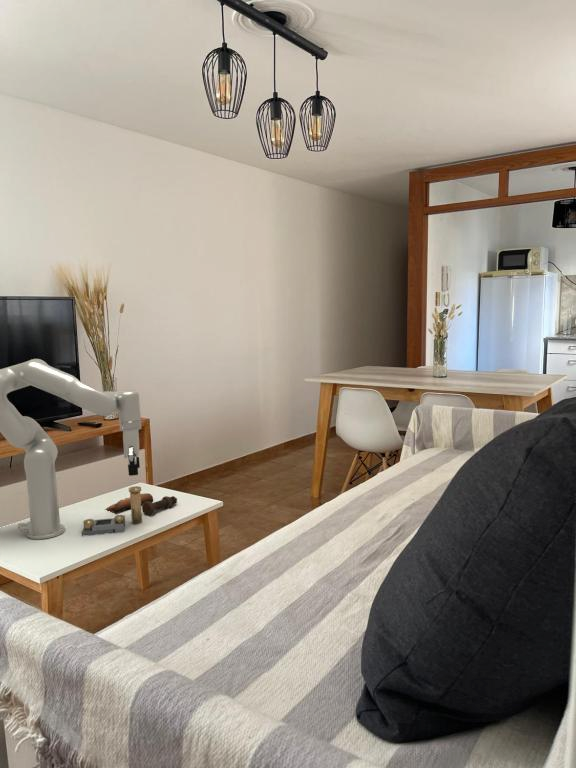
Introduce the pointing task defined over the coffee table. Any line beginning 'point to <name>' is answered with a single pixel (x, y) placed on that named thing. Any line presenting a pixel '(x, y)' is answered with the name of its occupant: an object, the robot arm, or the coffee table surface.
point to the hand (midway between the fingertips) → (134, 471)
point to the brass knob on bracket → (104, 525)
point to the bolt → (158, 505)
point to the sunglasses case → (128, 503)
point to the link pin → (135, 504)
